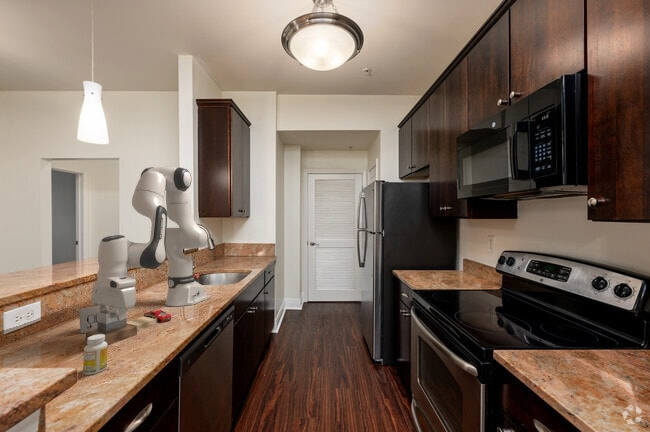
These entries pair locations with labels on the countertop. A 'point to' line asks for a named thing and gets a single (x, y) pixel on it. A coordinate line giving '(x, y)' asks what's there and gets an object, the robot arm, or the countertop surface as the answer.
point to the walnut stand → (115, 334)
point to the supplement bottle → (95, 355)
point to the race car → (158, 315)
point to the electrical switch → (89, 318)
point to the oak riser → (142, 322)
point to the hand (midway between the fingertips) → (112, 317)
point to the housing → (110, 321)
